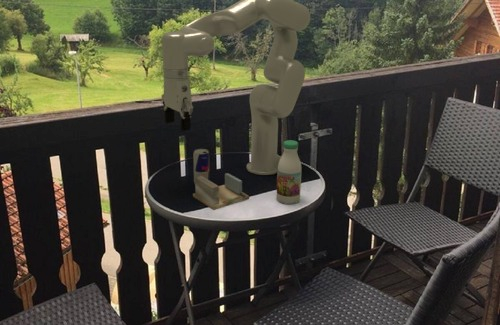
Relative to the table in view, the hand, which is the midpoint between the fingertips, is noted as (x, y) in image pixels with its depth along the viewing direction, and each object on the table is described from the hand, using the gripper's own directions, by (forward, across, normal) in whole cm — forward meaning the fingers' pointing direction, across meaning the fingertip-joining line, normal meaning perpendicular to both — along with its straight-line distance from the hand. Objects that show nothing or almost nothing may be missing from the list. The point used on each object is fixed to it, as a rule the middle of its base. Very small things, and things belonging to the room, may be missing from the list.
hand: (177, 126), depth 175 cm
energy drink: (+23, +1, -9) cm, 25 cm away
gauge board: (+23, -12, -7) cm, 27 cm away
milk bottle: (+23, -26, -25) cm, 43 cm away
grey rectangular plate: (+22, -13, -13) cm, 29 cm away
